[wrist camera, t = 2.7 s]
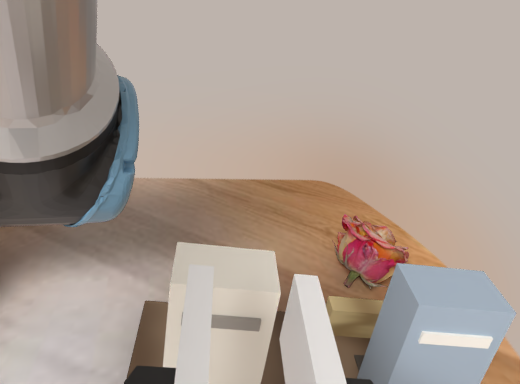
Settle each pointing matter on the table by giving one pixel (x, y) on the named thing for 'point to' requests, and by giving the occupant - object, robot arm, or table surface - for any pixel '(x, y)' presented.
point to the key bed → (273, 336)
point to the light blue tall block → (436, 327)
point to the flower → (368, 251)
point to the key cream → (228, 309)
